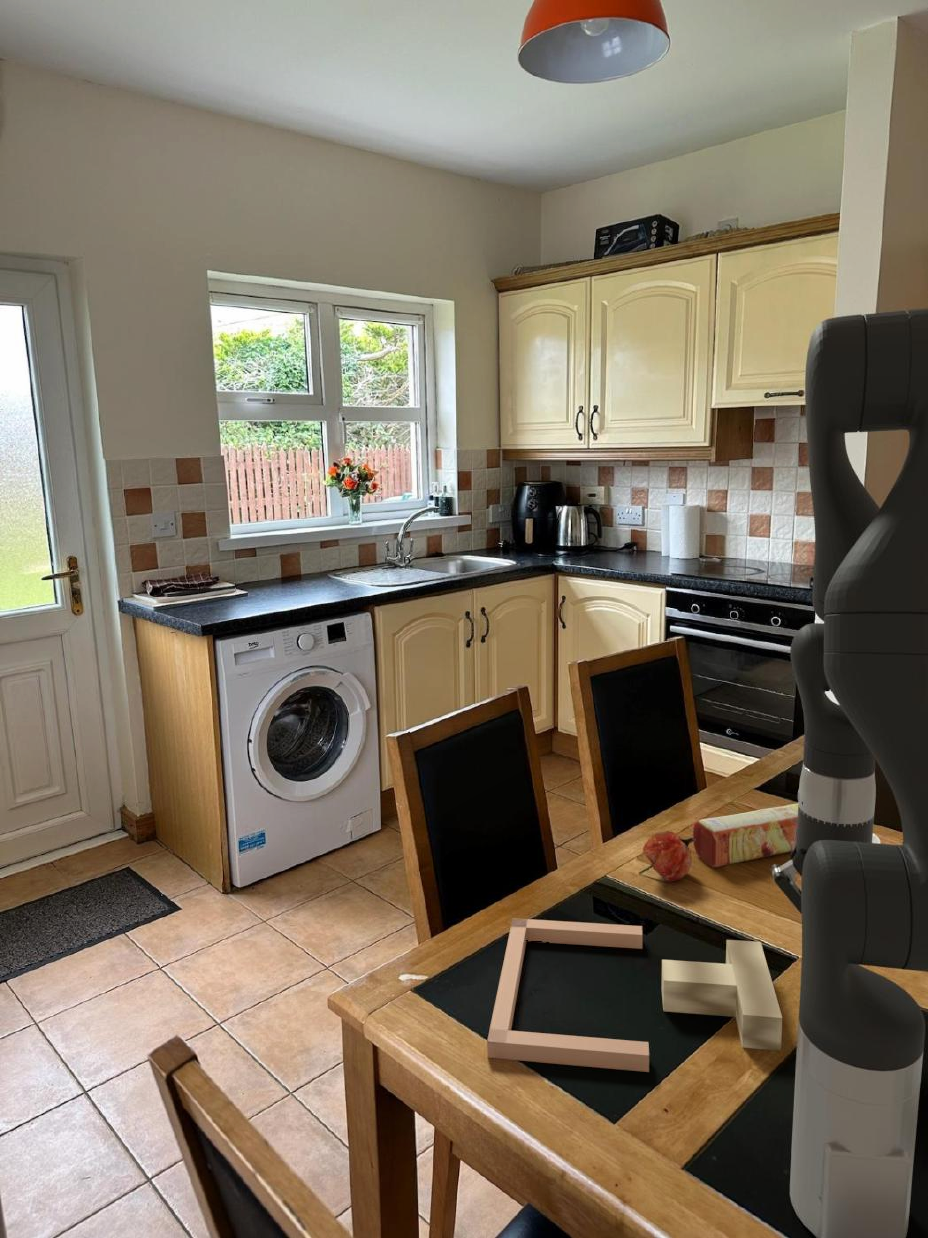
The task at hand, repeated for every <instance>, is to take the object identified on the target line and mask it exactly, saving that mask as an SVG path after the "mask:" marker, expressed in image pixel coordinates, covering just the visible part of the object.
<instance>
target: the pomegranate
mask: <svg viewBox="0 0 928 1238" xmlns="http://www.w3.org/2000/svg"><path fill="white" fill-rule="evenodd" d="M695 840H696V839H694V838H693V837H689V838H687V839H683V838H681V836H680V835H679V834H677V833H675V832H673V831H669V830H665V831H657V832H655V833H653V834H652V835H651V836H650V838H648V839H647V840H646V842H645V843H644V846H643V848H642V851H643V853H644V855H645V857H646V859H648V860H649V862H650V863H651V864H650V865H649V866H647V867H646V868H645V869H642V870H641V871H639V872H638V874H639V875H642V874H643V873H645V872H646V871H649V870H650V869H651V868H652V869H653V870H654V871H655V872H656V873H658V874H659V875H660V876H661V877H662V878H663V880H664V881H665V882H669V883H670V882H675V881H679V880H680V879H683V878H684V877H685V876H686V875H687V874H688V873H689V871H690V869H691V866H692V864H693V863H692V861H693V860H692V859H693V858H692V852H691V849H690V847H689V846H690V844H691V843H692V842H693V841H695ZM693 843H694V842H693Z"/></svg>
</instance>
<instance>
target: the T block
mask: <svg viewBox="0 0 928 1238" xmlns="http://www.w3.org/2000/svg"><path fill="white" fill-rule="evenodd" d="M761 942H762V941H751V940H737V939H736V940H735V939H726V942H725V944H726V946H725V947H726V948H725V949H726V950H725V963H719V962H704V961H703V962H702V961H690V960H688V961H687V960H676V959H675V960H674V959H661V997H662V999H661V1001H662V1009H663V1012H670V1013H681V1014H694V1015H695V1014H696V1015H706V1016H722V1017H734V1018H735V1020H736V1024H737V1029H738V1035H739V1036H738V1037H739V1040H740V1045H741V1048H745V1049H756V1050H757V1049H758V1050H770V1051H779V1052H780V1051H782V1037H783V1036H782V1034H783V1033H782V1032H783V1015H782V1012H781V1008H780V1005H779V1001H778V997H777V994H776V992H775V987H774V984H773V980H772V977H771V973H770V970H769V967H768V963H767V960H766V956H765V953H764V948H763V945H762V943H761Z"/></svg>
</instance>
